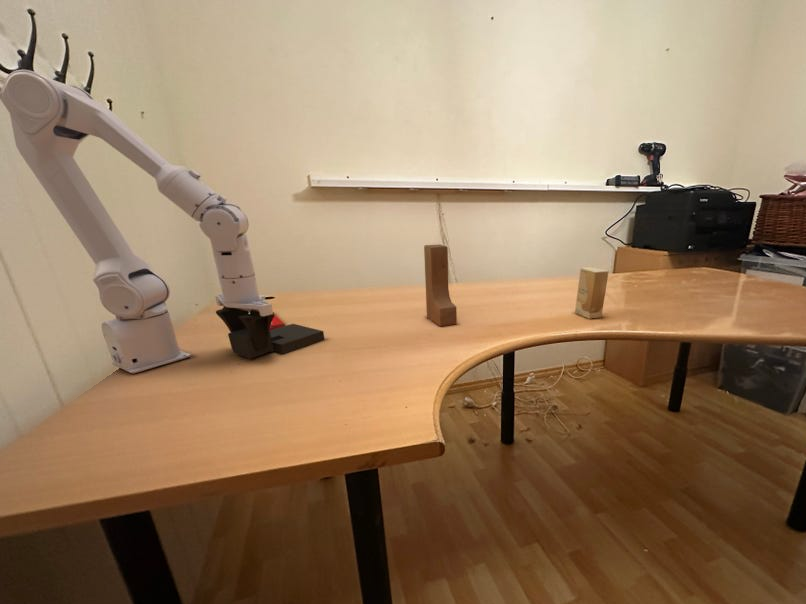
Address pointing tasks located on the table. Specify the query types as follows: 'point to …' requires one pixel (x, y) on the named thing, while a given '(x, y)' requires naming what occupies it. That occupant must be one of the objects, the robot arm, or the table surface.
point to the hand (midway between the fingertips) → (252, 346)
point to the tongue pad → (249, 343)
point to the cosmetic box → (591, 292)
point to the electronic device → (276, 323)
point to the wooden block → (438, 286)
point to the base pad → (295, 337)
